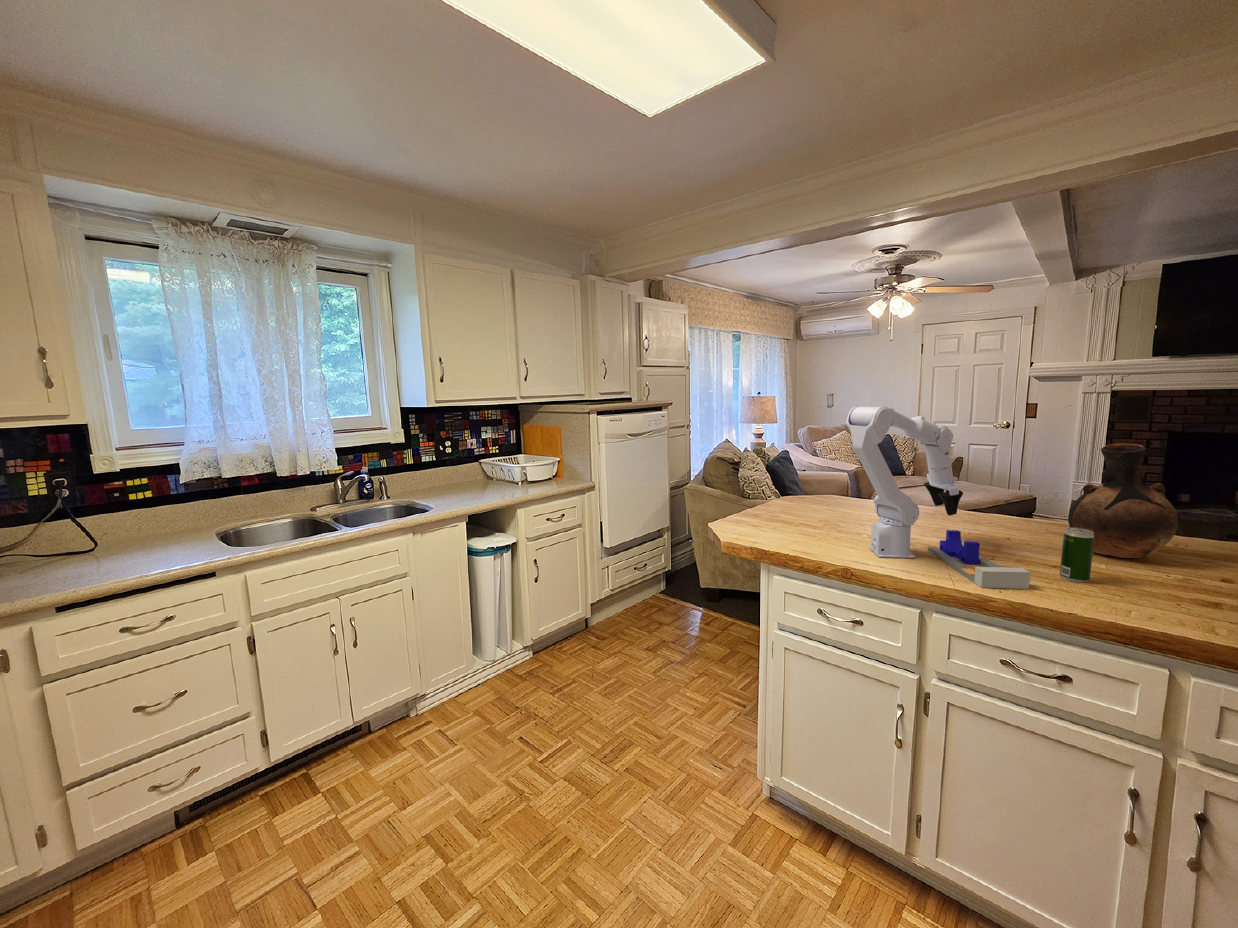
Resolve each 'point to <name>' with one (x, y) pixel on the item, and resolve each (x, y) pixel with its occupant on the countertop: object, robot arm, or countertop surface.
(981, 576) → the cable guide
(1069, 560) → the beer can
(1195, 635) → the countertop surface
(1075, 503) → the ceramic vessel
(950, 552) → the cable clip
